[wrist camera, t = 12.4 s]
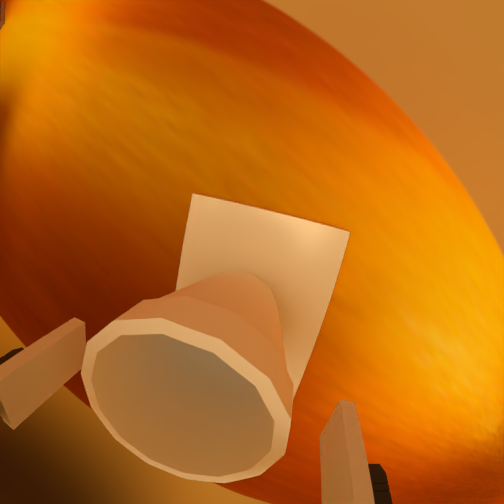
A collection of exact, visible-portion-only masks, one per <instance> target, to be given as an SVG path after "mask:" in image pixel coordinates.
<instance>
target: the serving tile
mask: <svg viewBox="0 0 504 504" xmlns="http://www.w3.org/2000/svg"><path fill="white" fill-rule="evenodd" d="M349 235H350V232H349V231H348V230H346V229H342V228H339V227H335V226H331V225H328V224H324V223H320V222H316V221H313V220H309V219H305V218H301V217H297V216H293V215H289V214H285V213H281V212H277V211H273V210H269V209H265V208H261V207H256V206H252V205H248V204H244V203H239V202H235V201H231V200H226V199H222V198H217V197H213V196H208V195H204V194H193V195H192V200H191V205H190V210H189V215H188V220H187V226H186V231H185V237H184V242H183V248H182V254H181V260H180V266H179V272H178V279H177V285H176V291H177V290H179V289H182V288H184V287H186V286H189V285H191V284H193V283H196V282H198V281H200V280H203V279H205V278H207V277H210V276H212V275H214V274H217V273H220V272H224V271H231V270H241V271H245V272H248V273H251V274H254V275H257V276H258V277H259V278H260V279H261V280H262V281H263V282H265V283H266V284H267V285H268V286H269V287H270V288H271V291H272V293H273V295H274V298H275V300H276V302H277V306H278V312H279V318H280V325H281V332H282V339H283V345H284V352H285V359H286V366H287V371H288V373H289V376H290V378H291V380H292V382H293V384H294V388H293V398H294V396H295V393H296V391H297V389H298V386H299V384H300V381H301V379H302V376H303V374H304V371H305V369H306V366H307V363H308V361H309V358H310V356H311V353H312V350H313V347H314V345H315V342H316V339H317V337H318V334H319V331H320V328H321V325H322V322H323V319H324V317H325V314H326V311H327V308H328V305H329V302H330V298H331V295H332V292H333V289H334V286H335V283H336V280H337V276H338V273H339V270H340V266H341V263H342V260H343V256H344V253H345V249H346V246H347V242H348V238H349Z"/></svg>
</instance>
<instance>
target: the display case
mask: <svg viewBox="0 0 504 504" xmlns="http://www.w3.org/2000/svg"><path fill="white" fill-rule="evenodd" d="M4 23H5V3H4V2H2V1H0V29H1V27H2V26H3V25H4Z"/></svg>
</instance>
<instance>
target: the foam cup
mask: <svg viewBox="0 0 504 504" xmlns="http://www.w3.org/2000/svg"><path fill="white" fill-rule="evenodd" d="M81 376H82V379H83V383H84V386H85V389H86V393H87V396H88V399H89V402H90V405H91V408H92V409H93V410H94V412H95V413H96V414H97V416H98V417H99V419H100V420H101V421H102V423H103V424H104V425H105V426H106V428H107V429H108V431H109V432H110V433H111V434H112V436H113V437H114V438H115V439H116V440H117V441H118V442H120V443H121V444H122V445H123V446H125V447H126V448H127V449H129V450H130V451H131V452H133V453H134V454H135V455H137V456H138V457H139V458H141V459H142V460H143V461H145V462H146V463H148V464H150V465H153V466H155V467H157V468H159V469H162V470H164V471H167V472H169V473H172V474H174V475H177V476H179V477H182V478H185V479H191V480H198V481H199V480H200V481H207V482H217V483H228V482H232V481H237V480H242V479H246V478H250V477H254V476H258V475H261V474H262V473H263V472H264V471H266V470H267V469H268V468H269V467H270V466H272V465H273V464H274V463H275V462H276V461H277V460H279V459H280V458H281V457H282V456H283V455H284V454H285V451H286V446H287V441H288V435H289V430H290V424H291V416H292V403H293V388H294V384H293V382H292V380H291V378H290V376H289V373H288V371H287V366H286V359H285V352H284V345H283V339H282V332H281V325H280V318H279V312H278V306H277V302H276V300H275V298H274V295H273V293H272V291H271V288H270V287H269V286H268V285H267V284H266V283H265V282H263V281H262V280H261V279H260V278H259V277H258V276H257V275H254V274H251V273H248V272H245V271H241V270H231V271H224V272H220V273H217V274H214V275H212V276H210V277H207V278H205V279H203V280H200V281H198V282H196V283H193V284H191V285H189V286H186V287H184V288H182V289H179V290H177V291H175V292H172V293H170V294H168V295H165V296H163V297H161V298H158V299H149V300H142V301H141V302H140V303H138V304H137V305H135V306H134V307H132V308H131V309H129V310H128V311H127V312H125V313H124V314H122V315H121V316H119V317H118V318H117V319H115V320H114V321H112V322H111V323H110V324H109V325H107V326H106V327H105V328H104V329H102V330H101V331H100V332H99V333H98V334H96V335H95V336H94V337H93V338H91V339H90V340H89V341H88V342H87V345H86V349H85V354H84V359H83V365H82V370H81Z"/></svg>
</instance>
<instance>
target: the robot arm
mask: <svg viewBox="0 0 504 504" xmlns="http://www.w3.org/2000/svg"><path fill="white" fill-rule="evenodd" d="M85 349H86V335H85V322H83V321H81V320H79V319H77V318H75V317H74V318H72V319H71V320H69V321H68V322H66V323H64V324H63V325H61V326H60V327H58V328H57V329H55V330H53V331H52V332H50V333H49V334H47V335H46V336H44V337H42V338H41V339H39V340H38V341H36V342H35V343H33V344H32V345H30V346H28V347H27V348H25V349H23V348H19V349H14V350H12V351H10V352H9V353H7V354H6V355H5V356H3V357H1V358H0V414H1V416H2V419H3V421H4V422H5V423H7V424H8V425H9V426H10V427H11V428H12V429H13V430H14V429H15V428H16V427H17V426H18V425H19V424H20V423H21V422H23V420H25V419H26V418H27V417H28V416H29V415H30V414H31V413H32V412H34V411H35V410H36V409H37V408H38V407H39V406H40V405H41V404H42V403H43V402H45V401H46V400H47V399H48V398H49V397H50V396H51V395H52V394H53V393H54V392H55V391H57V390H58V389H59V388H60V387H61V386H62V385H64V384H65V383H66V382H67V381H68V380H69V379H70V378H71V377H73V376H74V375H75V374H76V373H77V372H78V371H79V370H81V369H82V365H83V359H84V354H85ZM320 456H321V486H322V504H392V499H391V494H390V492H389V485H388V484H387V483H388V481H387V476H386V473H385V471H384V470H383V468H382V467H381V465H380V464H368V462H367V457H366V452H365V447H364V442H363V437H362V433H361V428H360V423H359V419H358V415H357V410H356V406H355V402H352V401H345V400H340V401H339V402H338V404H337V406H336V408H335V410H334V412H333V414H332V416H331V417H330V419H329V421H328V423H327V425H326V426H325V428H324V430H323V432H322V433H321V435H320Z"/></svg>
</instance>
